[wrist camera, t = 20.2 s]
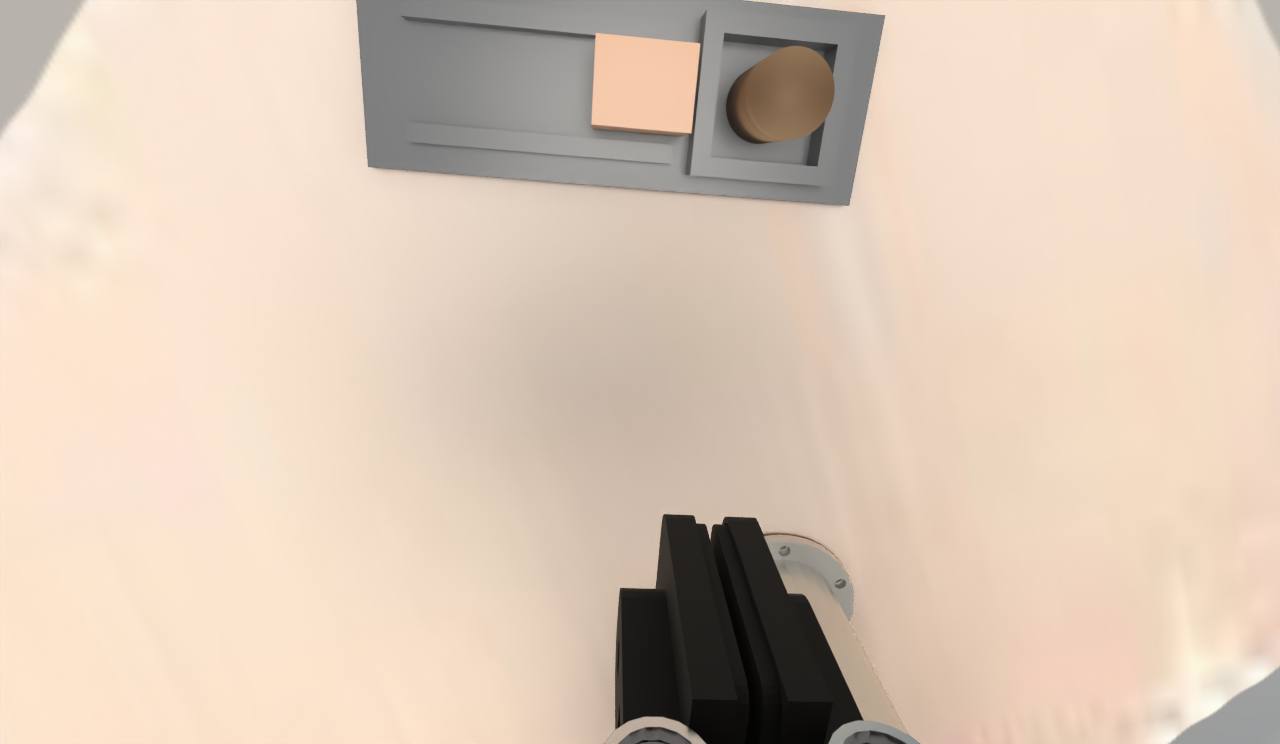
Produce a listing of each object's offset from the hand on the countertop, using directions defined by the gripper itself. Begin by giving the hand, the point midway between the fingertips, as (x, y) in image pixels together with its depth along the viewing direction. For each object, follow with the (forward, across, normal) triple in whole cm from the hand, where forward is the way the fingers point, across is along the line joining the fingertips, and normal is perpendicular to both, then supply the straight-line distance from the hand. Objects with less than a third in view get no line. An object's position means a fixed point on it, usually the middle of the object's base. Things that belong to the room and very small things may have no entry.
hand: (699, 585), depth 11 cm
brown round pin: (+27, -6, -11) cm, 30 cm away
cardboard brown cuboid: (+27, +1, -12) cm, 29 cm away
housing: (+28, +2, -12) cm, 30 cm away
